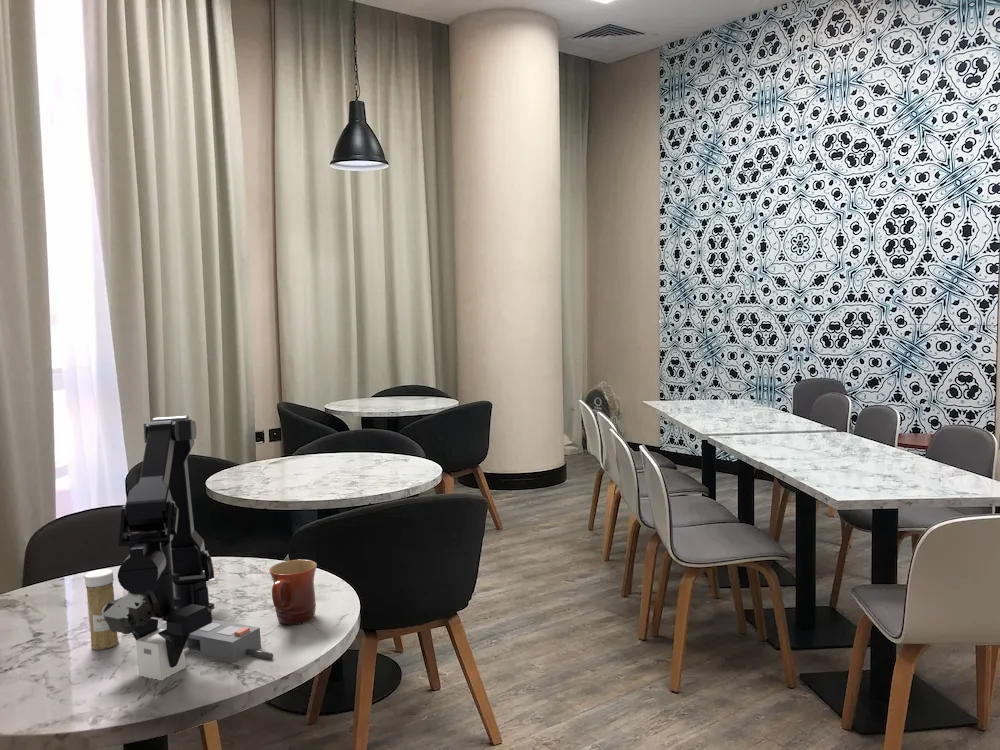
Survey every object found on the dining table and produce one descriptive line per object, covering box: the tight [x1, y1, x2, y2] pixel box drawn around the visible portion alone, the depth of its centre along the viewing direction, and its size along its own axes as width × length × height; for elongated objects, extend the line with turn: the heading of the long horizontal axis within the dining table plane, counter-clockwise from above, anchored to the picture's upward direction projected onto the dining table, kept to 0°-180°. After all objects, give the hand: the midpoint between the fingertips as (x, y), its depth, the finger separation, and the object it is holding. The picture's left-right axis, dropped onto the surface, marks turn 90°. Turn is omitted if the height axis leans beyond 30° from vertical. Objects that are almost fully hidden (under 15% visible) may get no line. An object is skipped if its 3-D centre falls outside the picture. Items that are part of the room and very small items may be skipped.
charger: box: [135, 629, 189, 681], centre depth 132 cm, size 5×8×6 cm, turn 155°
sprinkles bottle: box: [84, 568, 120, 651], centre depth 143 cm, size 5×5×14 cm
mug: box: [269, 559, 318, 626], centre depth 149 cm, size 12×9×10 cm
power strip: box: [157, 618, 274, 663], centre depth 139 cm, size 24×6×4 cm, turn 65°
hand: (161, 663), depth 131 cm, fingers closed on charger, 5 cm apart
